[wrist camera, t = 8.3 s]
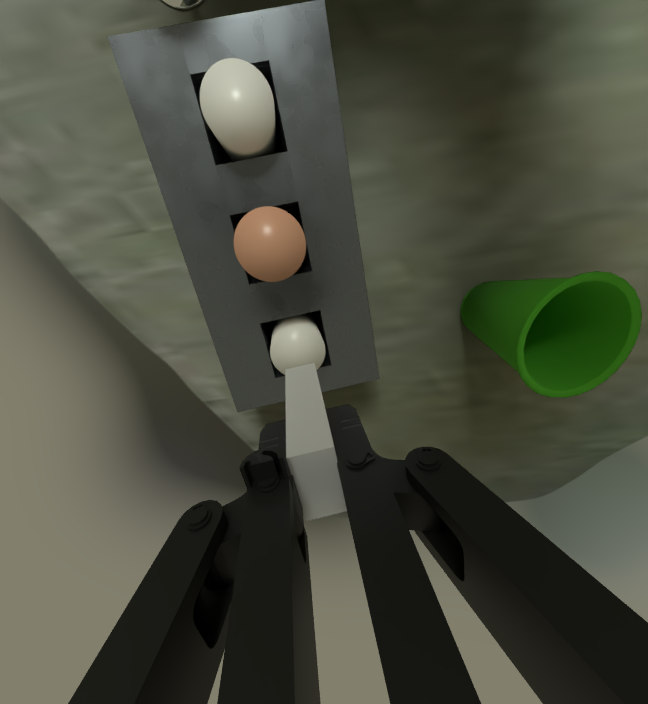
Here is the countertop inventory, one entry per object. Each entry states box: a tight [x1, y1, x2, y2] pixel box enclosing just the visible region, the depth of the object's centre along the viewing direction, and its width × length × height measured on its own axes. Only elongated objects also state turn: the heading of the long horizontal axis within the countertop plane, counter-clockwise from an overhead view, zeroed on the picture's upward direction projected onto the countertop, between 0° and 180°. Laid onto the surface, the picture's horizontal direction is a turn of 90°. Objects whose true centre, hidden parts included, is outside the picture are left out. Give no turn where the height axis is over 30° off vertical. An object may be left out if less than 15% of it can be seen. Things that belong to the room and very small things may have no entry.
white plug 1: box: [200, 58, 277, 162], centre depth 20 cm, size 4×4×7 cm
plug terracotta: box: [234, 206, 306, 282], centre depth 21 cm, size 4×4×7 cm
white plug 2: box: [270, 312, 325, 374], centre depth 26 cm, size 4×4×7 cm
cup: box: [461, 271, 642, 398], centre depth 26 cm, size 9×9×11 cm
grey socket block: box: [108, 0, 379, 412], centre depth 24 cm, size 24×12×6 cm, turn 11°
